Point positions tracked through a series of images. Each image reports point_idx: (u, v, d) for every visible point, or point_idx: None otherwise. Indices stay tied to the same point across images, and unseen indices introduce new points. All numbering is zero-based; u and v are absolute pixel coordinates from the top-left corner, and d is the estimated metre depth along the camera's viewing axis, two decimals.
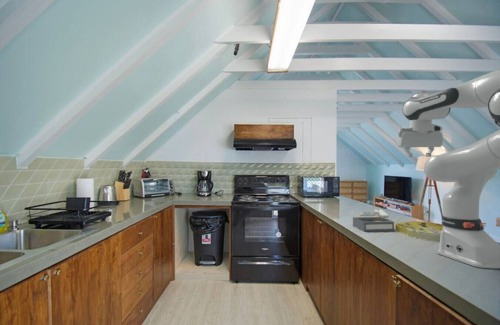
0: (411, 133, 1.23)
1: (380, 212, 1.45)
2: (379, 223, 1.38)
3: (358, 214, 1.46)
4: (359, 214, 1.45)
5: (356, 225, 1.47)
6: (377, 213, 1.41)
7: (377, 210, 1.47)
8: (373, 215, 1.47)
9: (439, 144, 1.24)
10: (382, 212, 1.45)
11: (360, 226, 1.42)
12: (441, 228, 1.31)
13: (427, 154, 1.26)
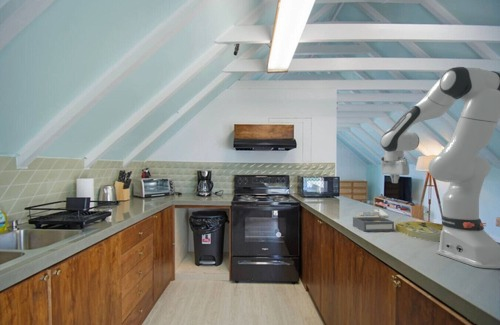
0: None
1: (380, 212, 1.45)
2: (379, 223, 1.38)
3: (358, 214, 1.46)
4: (359, 214, 1.45)
5: (356, 225, 1.47)
6: (377, 213, 1.41)
7: (377, 210, 1.47)
8: (373, 215, 1.47)
9: None
10: (382, 212, 1.45)
11: (360, 226, 1.42)
12: (441, 228, 1.31)
13: None
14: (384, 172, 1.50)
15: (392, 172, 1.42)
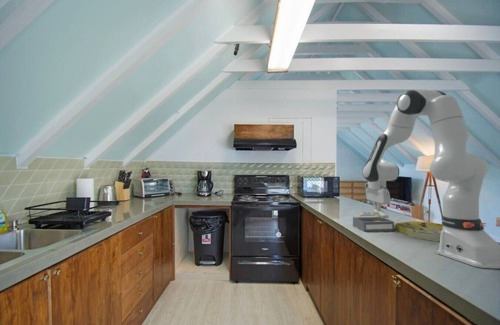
0: None
1: (380, 212, 1.45)
2: (379, 223, 1.38)
3: (358, 214, 1.46)
4: (359, 214, 1.45)
5: (356, 225, 1.47)
6: (377, 213, 1.41)
7: (377, 210, 1.47)
8: (373, 215, 1.47)
9: None
10: (382, 212, 1.45)
11: (360, 226, 1.42)
12: (441, 228, 1.31)
13: None
14: (368, 198, 1.55)
15: (375, 199, 1.48)
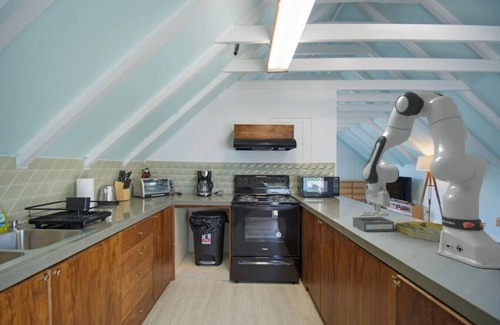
0: None
1: (380, 212, 1.45)
2: (379, 223, 1.38)
3: (358, 214, 1.46)
4: (359, 214, 1.45)
5: (356, 225, 1.47)
6: (377, 213, 1.41)
7: None
8: (373, 215, 1.47)
9: None
10: (382, 212, 1.45)
11: (360, 226, 1.42)
12: (441, 228, 1.31)
13: None
14: (368, 199, 1.56)
15: (374, 201, 1.48)
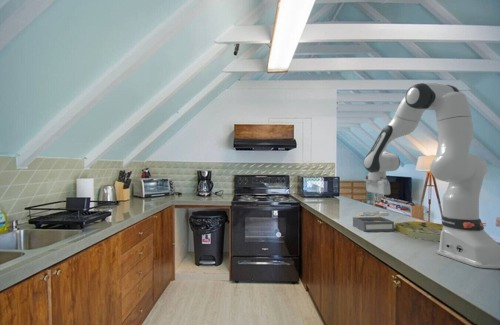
0: None
1: (380, 212, 1.45)
2: (379, 223, 1.38)
3: (358, 214, 1.46)
4: (359, 214, 1.45)
5: (356, 225, 1.47)
6: (377, 213, 1.41)
7: (377, 211, 1.48)
8: (373, 215, 1.47)
9: None
10: (382, 212, 1.45)
11: (360, 226, 1.42)
12: (441, 228, 1.31)
13: None
14: (368, 190, 1.55)
15: (375, 191, 1.47)
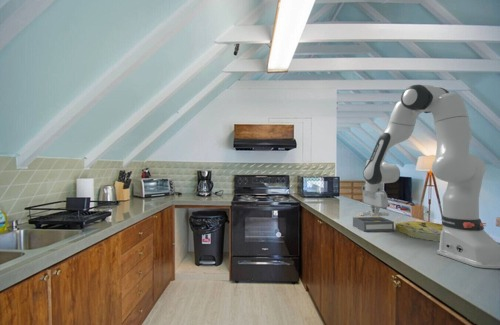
0: None
1: (380, 212, 1.45)
2: (379, 223, 1.38)
3: (358, 214, 1.46)
4: (359, 214, 1.45)
5: (356, 225, 1.47)
6: (377, 215, 1.41)
7: None
8: None
9: None
10: (382, 212, 1.45)
11: (360, 226, 1.42)
12: (441, 228, 1.31)
13: (374, 211, 1.42)
14: (365, 201, 1.49)
15: (372, 203, 1.41)
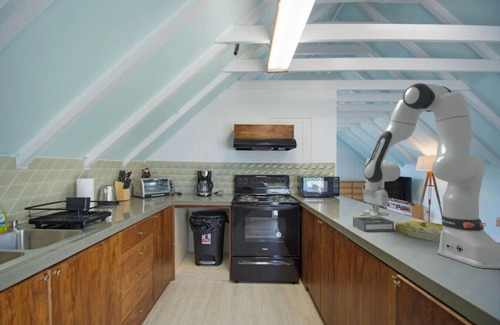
0: None
1: (380, 212, 1.45)
2: (379, 223, 1.38)
3: (358, 214, 1.46)
4: (359, 214, 1.45)
5: (356, 225, 1.47)
6: (377, 217, 1.41)
7: None
8: None
9: None
10: (382, 212, 1.45)
11: (360, 226, 1.42)
12: (441, 228, 1.31)
13: None
14: (366, 200, 1.49)
15: (373, 201, 1.41)
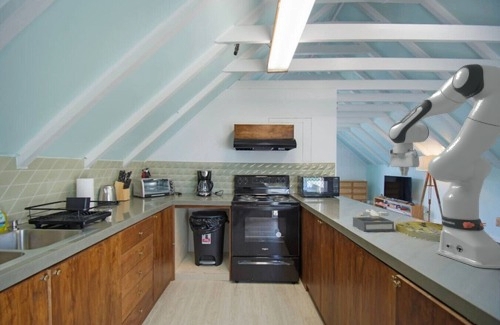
0: None
1: (380, 212, 1.45)
2: (379, 223, 1.38)
3: (358, 214, 1.46)
4: (359, 214, 1.45)
5: (356, 225, 1.47)
6: (377, 217, 1.41)
7: None
8: None
9: None
10: (382, 212, 1.45)
11: (360, 226, 1.42)
12: (441, 228, 1.31)
13: None
14: (393, 165, 1.48)
15: (401, 164, 1.40)
